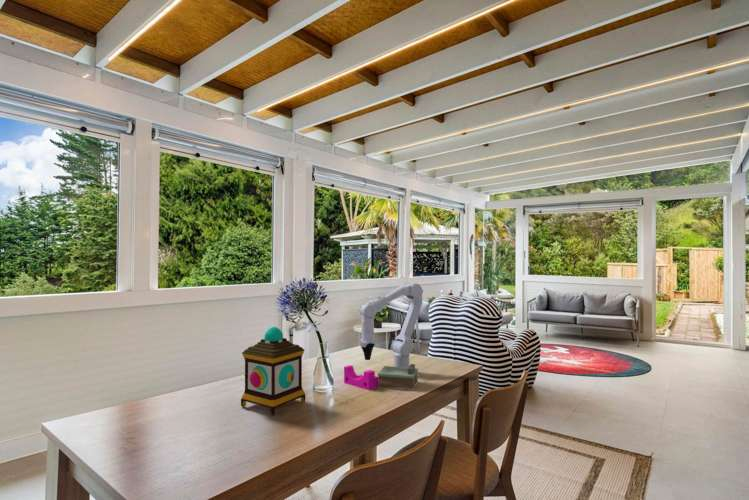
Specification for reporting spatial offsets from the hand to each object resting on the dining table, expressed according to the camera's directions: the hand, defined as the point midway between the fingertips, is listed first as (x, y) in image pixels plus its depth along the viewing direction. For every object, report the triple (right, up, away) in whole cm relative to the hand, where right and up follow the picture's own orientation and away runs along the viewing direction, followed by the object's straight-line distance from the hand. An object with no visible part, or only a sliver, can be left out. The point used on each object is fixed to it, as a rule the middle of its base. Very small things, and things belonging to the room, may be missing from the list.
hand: (367, 359), depth 197 cm
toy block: (-3, -9, -10) cm, 14 cm away
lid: (+14, -4, -9) cm, 17 cm away
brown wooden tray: (+14, -9, -9) cm, 19 cm away
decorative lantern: (-35, -9, -35) cm, 50 cm away
